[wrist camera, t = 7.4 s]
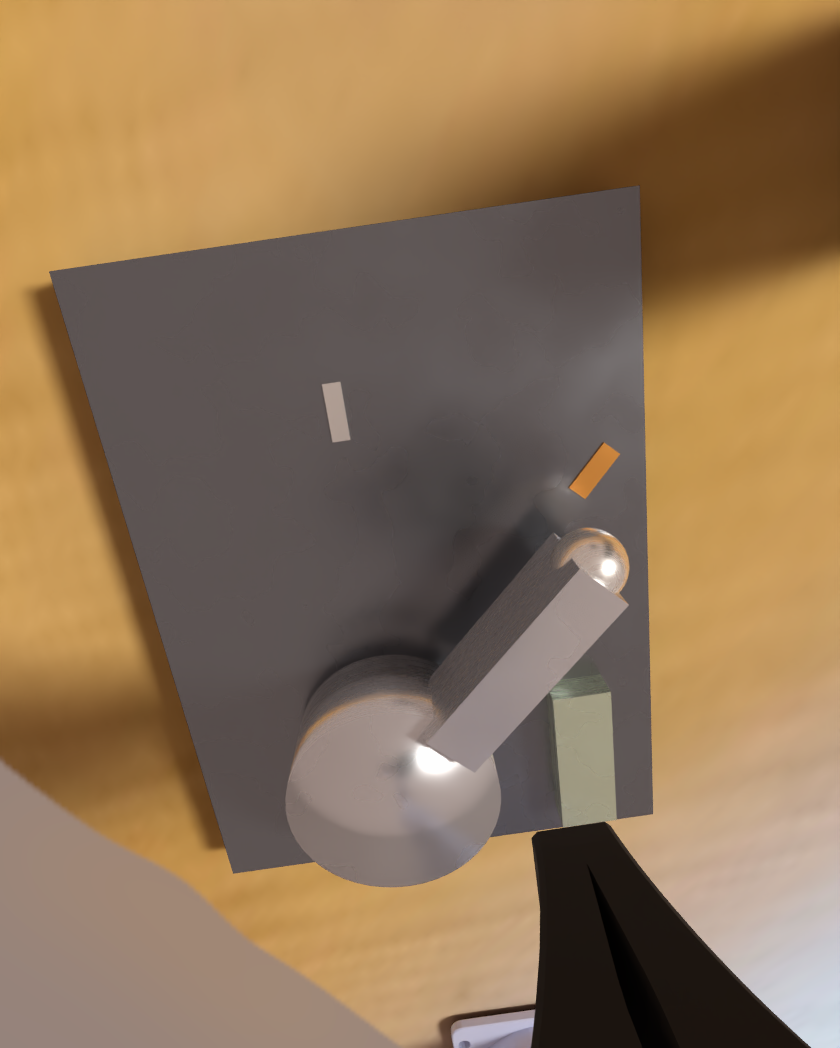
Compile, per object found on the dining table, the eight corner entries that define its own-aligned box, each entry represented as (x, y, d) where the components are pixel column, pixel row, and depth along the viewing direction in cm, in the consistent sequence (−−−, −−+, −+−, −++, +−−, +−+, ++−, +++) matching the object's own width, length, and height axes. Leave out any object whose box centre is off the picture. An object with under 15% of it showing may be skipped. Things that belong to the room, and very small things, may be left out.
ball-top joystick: (412, 837, 22) (416, 935, 18) (264, 755, 20) (238, 844, 17) (661, 566, 19) (721, 622, 15) (508, 448, 17) (536, 481, 14)
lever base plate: (636, 783, 24) (664, 836, 21) (242, 839, 24) (226, 898, 21) (619, 195, 17) (655, 177, 15) (77, 274, 17) (27, 268, 15)
